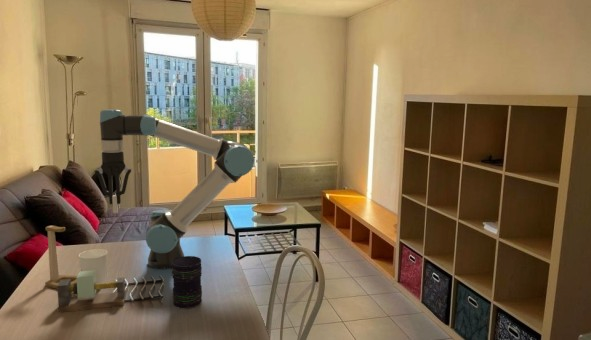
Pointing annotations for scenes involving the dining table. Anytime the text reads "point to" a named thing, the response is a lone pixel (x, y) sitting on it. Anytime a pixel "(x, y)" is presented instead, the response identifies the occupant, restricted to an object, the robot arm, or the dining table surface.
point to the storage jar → (187, 282)
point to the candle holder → (95, 263)
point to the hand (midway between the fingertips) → (115, 212)
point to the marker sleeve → (86, 284)
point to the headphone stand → (55, 259)
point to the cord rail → (97, 301)
